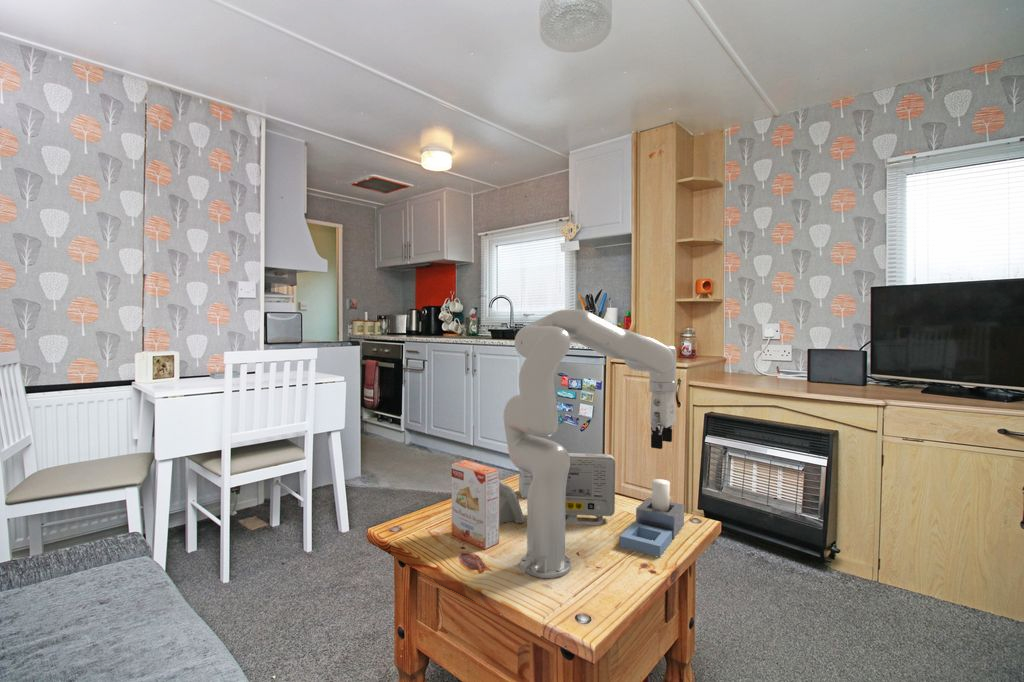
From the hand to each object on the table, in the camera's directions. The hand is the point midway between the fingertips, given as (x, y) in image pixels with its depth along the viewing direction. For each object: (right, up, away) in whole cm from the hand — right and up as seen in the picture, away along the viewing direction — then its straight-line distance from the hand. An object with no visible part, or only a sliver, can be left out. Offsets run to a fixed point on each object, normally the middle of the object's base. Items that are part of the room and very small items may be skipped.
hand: (661, 444), depth 146 cm
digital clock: (-46, -25, +9) cm, 53 cm away
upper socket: (0, -25, +1) cm, 25 cm away
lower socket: (-7, -25, -10) cm, 28 cm away
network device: (-25, -25, +8) cm, 37 cm away
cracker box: (-55, -25, -7) cm, 61 cm away
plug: (0, -21, +1) cm, 21 cm away
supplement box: (-38, -24, +29) cm, 53 cm away
